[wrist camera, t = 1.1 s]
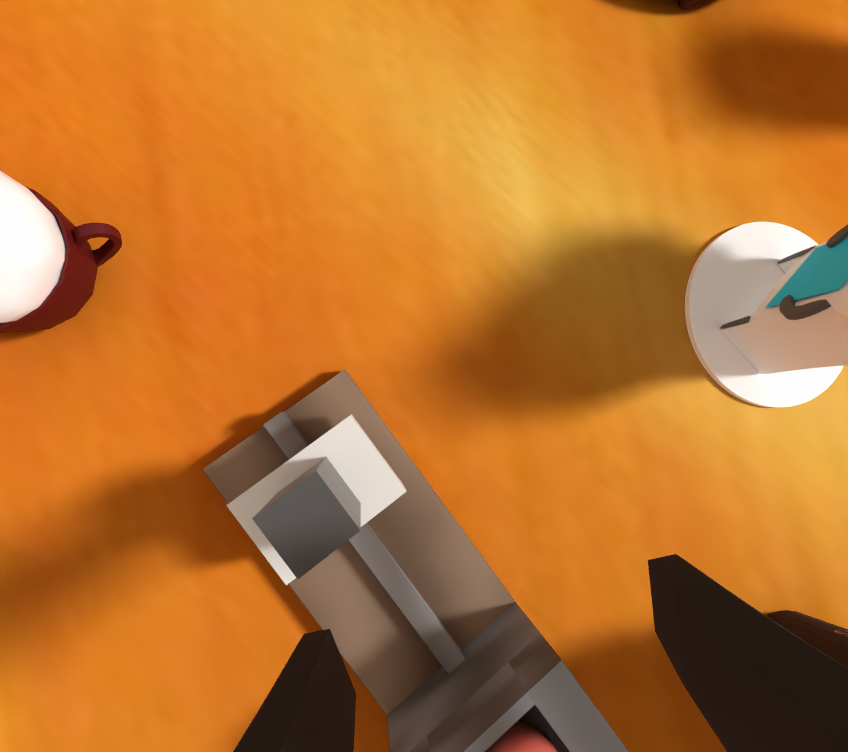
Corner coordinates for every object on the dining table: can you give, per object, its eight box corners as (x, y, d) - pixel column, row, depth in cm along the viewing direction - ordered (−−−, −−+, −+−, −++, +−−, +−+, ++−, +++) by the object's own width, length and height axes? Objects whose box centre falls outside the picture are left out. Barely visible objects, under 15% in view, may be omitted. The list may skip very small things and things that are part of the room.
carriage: (293, 567, 19) (264, 639, 13) (240, 495, 19) (185, 535, 13) (402, 483, 20) (419, 514, 14) (351, 414, 20) (347, 416, 14)
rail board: (444, 793, 21) (477, 941, 15) (203, 471, 21) (140, 496, 15) (569, 675, 23) (642, 771, 17) (345, 370, 22) (339, 357, 16)
